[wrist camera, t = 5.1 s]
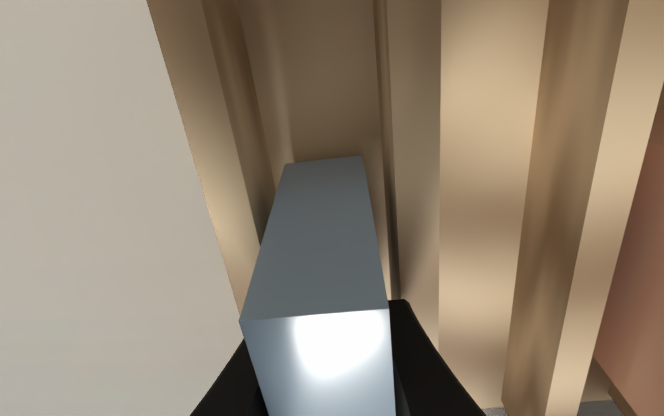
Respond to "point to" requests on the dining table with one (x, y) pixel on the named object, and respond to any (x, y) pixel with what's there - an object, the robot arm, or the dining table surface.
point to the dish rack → (441, 158)
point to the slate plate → (320, 298)
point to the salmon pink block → (639, 292)
